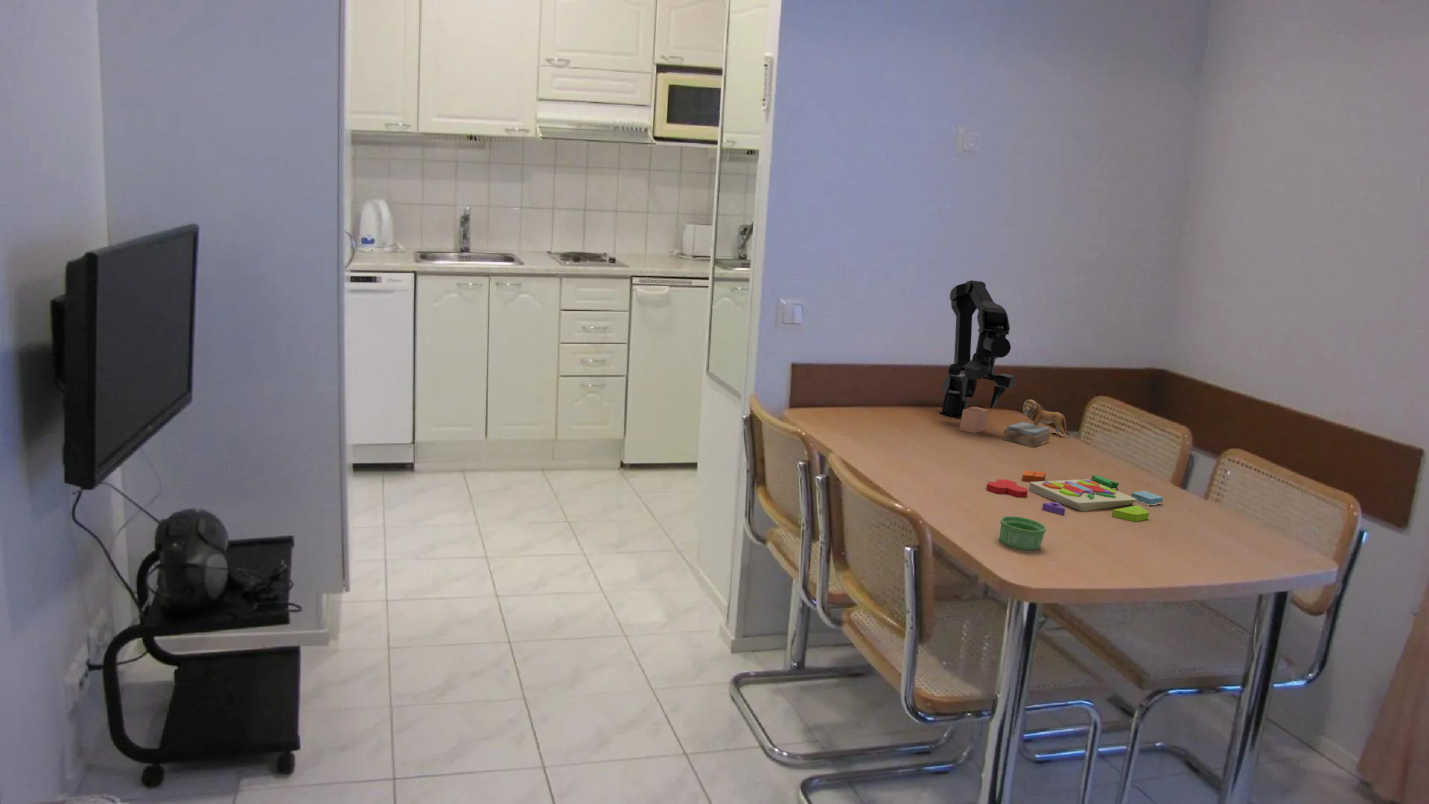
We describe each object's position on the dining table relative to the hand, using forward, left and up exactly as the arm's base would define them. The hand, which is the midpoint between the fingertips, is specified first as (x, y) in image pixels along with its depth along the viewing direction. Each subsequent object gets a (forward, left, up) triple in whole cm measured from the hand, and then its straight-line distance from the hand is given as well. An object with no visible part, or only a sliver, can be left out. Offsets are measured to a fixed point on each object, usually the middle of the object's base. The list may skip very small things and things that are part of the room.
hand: (976, 404), depth 331 cm
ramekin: (+50, -91, -8) cm, 104 cm away
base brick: (+15, +3, -7) cm, 17 cm away
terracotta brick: (0, 0, -8) cm, 8 cm away
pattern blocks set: (+46, -43, -8) cm, 64 cm away
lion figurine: (+14, +20, -8) cm, 25 cm away
